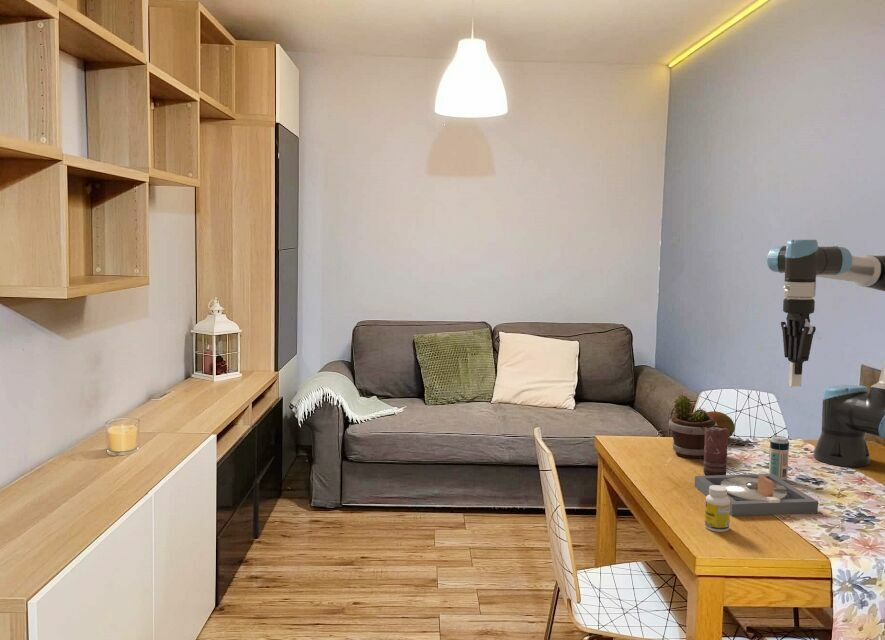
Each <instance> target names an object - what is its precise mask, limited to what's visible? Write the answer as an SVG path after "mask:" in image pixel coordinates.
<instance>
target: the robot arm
mask: <svg viewBox="0 0 885 640" xmlns="http://www.w3.org/2000/svg"><path fill="white" fill-rule="evenodd" d="M818 244H819V242H818V240H817V239H789V240H788V241H787V242H786V245H782V246H774V247H772V248H771V249H770V250H769V252H768V254H767V256H766V257H767V258H766V265H767V267H768V269H769V270H771V272H774V273H780V274H784V285H783V296H784V297H786V298H784V299H783V300H782V303H783V304H782V312H784V313H787V316H786V320H785V321H780V326H781V330H782V341H783V353H784V354H783V355H784V357H785V358H787V361H788V362H789V365H788V366H789V367H788V371H789V372H788V386H789V387H791V388H792V387H802V379H803V378H802V377H803V376H802V375H803V363H805V362H808V361H809V358H810V353H811V348H812V344H813V343H812V342H813V338H814V335H815V332H816V329H817V328H816V326H812V325H811V319H810V315H811V314H813V313H814V312H815V303H816V301H815V299H814V298H815V297H816V288H817V287H816V286H817V285H816V284H817V278H823V279H830V280H836V281H837V280H839V281H846V282H853V283H855V284H856V285H858V286H859V287H863V288H868V289H873V290H876V291H882V292H885V255H871V254H864V255H861V256H855V255H852V253H851V251H850V250H849V249H848V248H846V247H845V246H838V245H833V246H819V245H818ZM821 412H822V413H821V415H822V416H821V433H820V436H819V438H818V440H817V443H816V445H815V447H814V449H813V451H814V452H813V457H814V459H815V460H817V461H819V462H821V463H824V464H829V465H833V466H839V467H850V468H851V467H853V468H855V467H856V468H859V467H866V466H869V465H870V464H871V463H870V462H871V455H870V452H869V448H868V444H867V442H866V437H865V435H866V434H868V435H873V436H876V437H880V438H884V439H885V359H884V361H883V364H882V368H881V372H880V375H879V379H878V382H877V383H874V384H873V385H871V386H870V389H869V390H868V387H867V386H866V385H861V384H860V385H857V384H855V385H854V384H853V385H852V384H839V385H830V386H827V387H826V388H824V390H823V397H822V410H821Z"/></svg>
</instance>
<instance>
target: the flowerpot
mask: <svg viewBox="0 0 885 640" xmlns="http://www.w3.org/2000/svg"><path fill="white" fill-rule="evenodd" d="M688 397H689V395H686V394H684V393H683V392H681V394H680V393H679V395H677V396H676V398H675V399H673V406H672V408H673V410H674V411H673V412H674V415H673V416H672V417H671V418H670V419H669V421H668V428H669V429H670V431H671V434H672V439H673V442H672V444H671V445H672V449H673V451H674V453H675V454H676V455H677V456H679V457H683V458H687V459H704V446H705V430H706V427H707V426H718V425H717V423H716V422H715V421H714V419H713V417H711V416H709V415H707V413H706V412H707V410H706V408H702V407H701V406H698V409H695V410H694V411H692V408H693V405H694V404H693V403H692V399H691V398H690V397H689V398H688Z"/></svg>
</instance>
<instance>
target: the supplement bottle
mask: <svg viewBox="0 0 885 640" xmlns="http://www.w3.org/2000/svg"><path fill="white" fill-rule="evenodd" d="M709 494H710V495H708V496H706V497H705V507H704V508H705V511H704V512H705V514H704V526H705V528H706V529H707V530H709V531H712V532H716V533H717V532H718V533H723V532H724V533H725V532H728V531H729V530H730V518H731V517H730V516H731V515H730V499H729V498H728V497H727V496H726V495H727V488H726V487H724V486H720V485H712V486H710V487H709Z"/></svg>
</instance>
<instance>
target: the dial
mask: <svg viewBox="0 0 885 640" xmlns="http://www.w3.org/2000/svg"><path fill="white" fill-rule="evenodd" d="M721 486H724V487H726V488H727V495H729V496H730V497H731V498H733V499H734V500H735V501H755V500H767V497H777V498H779V499H780V500H787V489H786V488H785V487H784V486H782V485H780V484H778V483H775V482H773V481H771V480H770V479H768V478H766V477H764V476H758V478H749V477H734V478H728V479H725V480H723V481H722V482H721Z"/></svg>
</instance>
